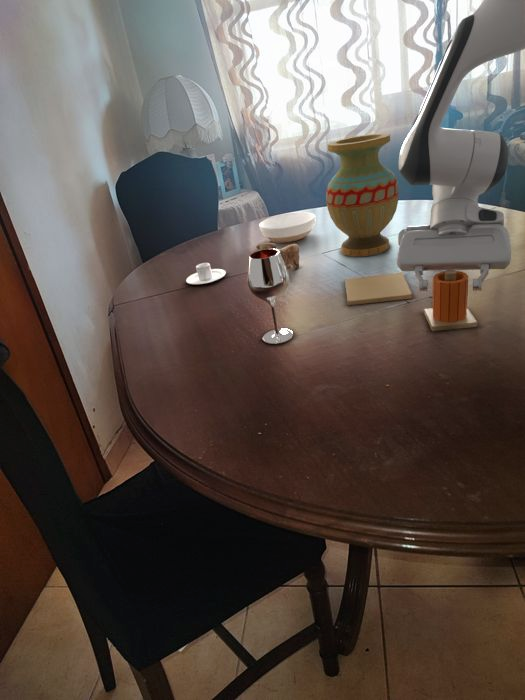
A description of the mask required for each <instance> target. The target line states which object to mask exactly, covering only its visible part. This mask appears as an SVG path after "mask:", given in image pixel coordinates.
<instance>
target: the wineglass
mask: <svg viewBox="0 0 525 700" xmlns="http://www.w3.org/2000/svg"><path fill="white" fill-rule="evenodd" d="M276 249H277V248H276ZM276 249H264V250H260V251H259V250H257V251H254V252H252V253H251V254H250V255H248V257H249V258H248V267H247V268H248V269H247V285H248V289H249V291H250V292H251V293H252V295H254V296H255V297H256V298H257V299H259V300H261V301H262V302H265V303H267V304H268V305H269V307H270V308H271V313H272V320H273V325H274V329H272V330H270V331H268V332H265V333H264V335H263V336H262V340H263V342H264V343H266V344H268V345H281V344H284V343H287V342H288V341H290V340H291V339H292V338H294V331H292V330H290V329H288V328H280V326H279V322H278V321H279V320H278V315H277V310H276V309H277V308H276V305H277V302H278V301H279V300H280V299H281V298H282V297H283V296H284V295H285V293H286V292H287V290H288V288H289V286H290V279H291V278H290V275H289V271H288V268H286V266H285V264H284V261H283V259H282V257H281V255H280V253H279V251H278V250H276Z"/></svg>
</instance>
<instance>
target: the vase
mask: <svg viewBox="0 0 525 700" xmlns="http://www.w3.org/2000/svg"><path fill="white" fill-rule="evenodd" d="M390 141H391V133H390V132H389V133H387V132H382V133H381V132H380V133H379V132H378V133H370V134H363V135H356V136H350V137H346V138H341V139H337V140H334V141H330V142H328V143H327V152H329V153H332V154H335V155H337V156H338V157H339V158H340V167H339V170H338V171H336V173H335V175H334V176H332V178H331V179H330V181H329V182H328V184H327V187H326V191H325V192H326V193H325V201H326V205H327V206H326V207H327V212H328V215H329V216H330V217H329V218H330V219H331V220H332V222H333V224H334V225H335V227H336V228H337V229H338V230H339V231H341V232H342V233H344V234H345V235H346V236H348V238H347V239H346V240H344V241H343V242H342V243H341V246H340V247H341V253H342V254H343V255H346V256H348V257H369V256H374V255H378V254H381V253H384V252H386V251H387V250H388V249H390V239H389V238H388V237H386V236H385V235H383V234H381V233H382V231H383V230H384V229H385V228H386V227H387V226H388V225H389V224H390V222H391V221H393V218H394V216H395V214H396V211H397V210H398V209H397V208H398V203H399V183H398V179H397V177H396V175H395V173H394V172H393V171H392V170H390V169H389V168H388V167H386V166H385V165H383V164H382V163H381V161H380V158H379V152H380V150H381V149H382V147H384V146H385V145H386V144H388V143H389V142H390Z"/></svg>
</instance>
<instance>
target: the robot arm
mask: <svg viewBox="0 0 525 700" xmlns="http://www.w3.org/2000/svg"><path fill="white" fill-rule="evenodd" d="M524 50H525V0H482V2H481V4H480V5H479V6H478V8H477V9H476V10H475V11H474V12H473V13H472V14H470V15H468V16H466V17H464V18H463V19H462V20H461V21H460V22H459V24H458V25H457V27H456V28H455V29H454V32H453V33H452V35H451V37H450V39H449V41H448V43H447V46H446V48H445V50H444V52H443V55H442V56H441V59H440V61H439V63H438V66H437V68H436V70H435V73H434V75H433V77H432V80H431V82H430V85H429V87H428V89H427V91H426V94H425V97H424V99H423V101H422V103H421V105H420V108H419V111H418V113H417V115H416V118H415V120H414V122H413V124H412V126H411V128H410V130H409V132H408V134H407V136H406V138H405V140H404V141H403V144H401V145H402V146H401V148H400V151H399V156H398V172H399V173H400V175H401V176H402V177H403V179H405V181H406V182H407V183H408V184H409V185H410V186H431V185H432V187H431V189H432V190H431V193H432V194H431V195H432V198H433V202H432V205H431V207H430V216H429V217H430V218H429V224H423V225H414V226H413V225H408V226H406V227H405V228H403V229H401V230H400V231H399V232H398V235H397V245H398V250H397V255H396V265H397V267H398V269H399V270H400V271H401V272H414V275H415V277H416V280H417V281H418V283H419V284H418V285H419V287H418V288H419V292H428V291H429V280H428V279H424V278H423V275H424V272H433V271H434V272H435V271H447V270H455V271H477V270H478V271H479V274H480V275H479V277H478V278H473V279H472V291H474V292H475V291H477V292H479V291H482V288H483V287H482V285H483V282H484V281H485V280H486V278H487V277H488V275H489V271H490V270H505V269H506V268H508V266H509V265H510V264H511V261H512V260H511V259H512V247H511V238H510V234H509V230H508V229H507V228H506V226H505V214H504V212H503V211H500V210H496V209H490V208H487V207H481V206H479V197H480V195H484V194H486V193H487V192H488V191H490V190H491V189H492V188H493V187H495V186H496V185H497V184H498V183H500V181H501V180H502V179H503V178H504V176H505V174H506V171H507V167H508V162H509V147H508V143H507V141H506V140H505V138H504V136H503V135H502V134H501V133H499V132H494V131H487V130H477V129H470V130H469V129H458V128H449V127H448V128H446V127H442V126H441V125H442V123H443V122H444V119H445V117H446V115H447V113H448V111H449V108H450V107H451V104H452V102H453V99H454V97H455V95H456V93H457V91H458V88H459V86H460V84H461V83H462V81H463V80H464V78H465V77H466V76H467V75H468V74H469V73H470V72H472V71H473V70H474V69H476V68H478V67H479V66H481V65H483V64H486V63H488V62H490V61H494V60H496V59H498V58H503V57H505V56H508V55H512V54H515V53H518V52H521V51H524Z"/></svg>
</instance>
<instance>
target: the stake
mask: <svg viewBox="0 0 525 700" xmlns="http://www.w3.org/2000/svg"><path fill="white" fill-rule="evenodd" d="M456 271H457V270H444V272H445V281H449V282H451V281H456ZM423 314H424V316H425V319H426V320H427V322H428V325H429V328H430V330H431V331H432V332H437V331H438V332H439V331H450V330H461V329H468V328H469V329H470V328H477V327H478V321H477V320H476V318H475V317H474V315H473V313H472V312H471V311H470V310H469V308H468V307H467V316H466V317H465V318H464V319H463V320H460V321H457V322H442V321H439V320H436V319H435V318H434V317H433V307H432V308H431V307H430V308H423Z"/></svg>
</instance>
